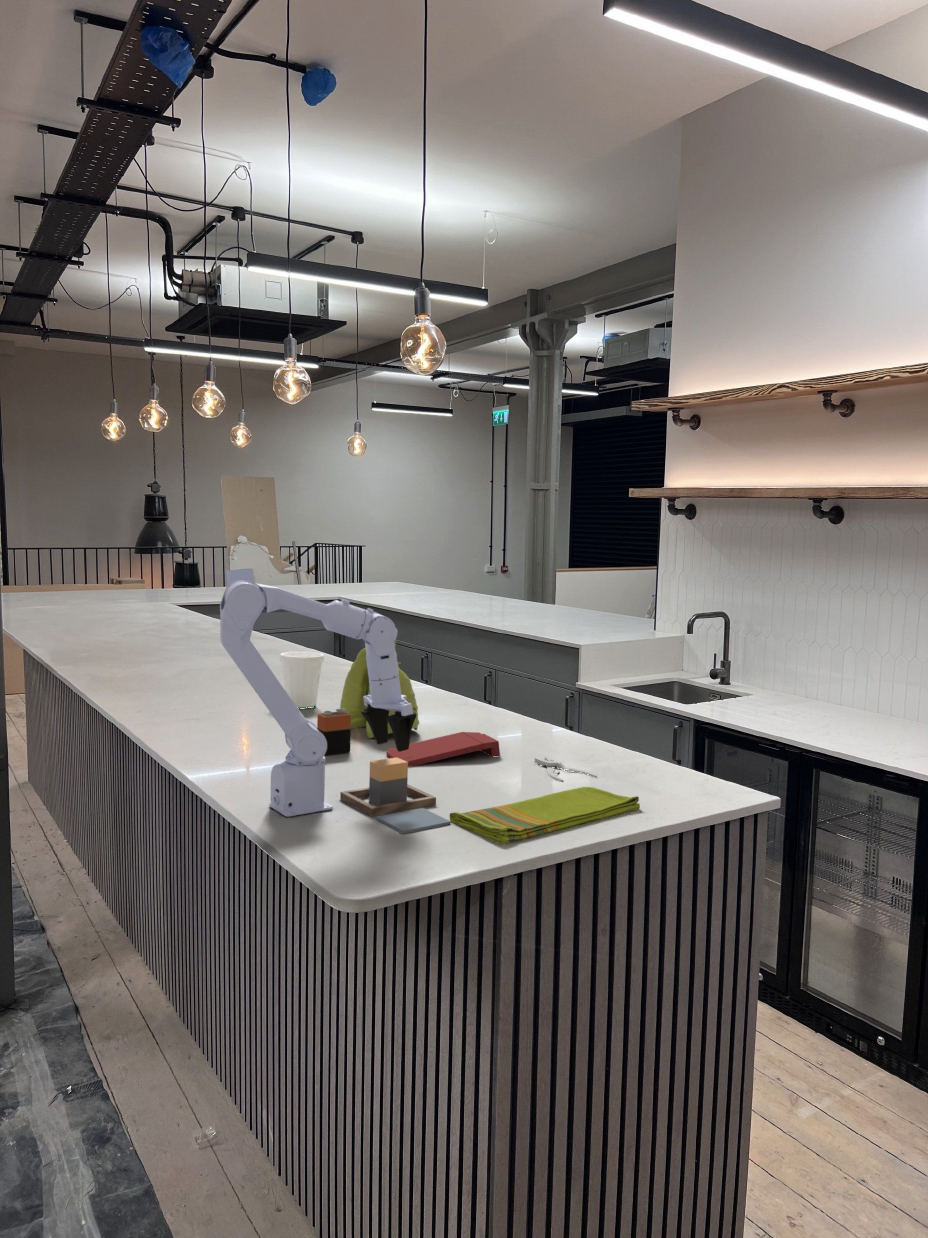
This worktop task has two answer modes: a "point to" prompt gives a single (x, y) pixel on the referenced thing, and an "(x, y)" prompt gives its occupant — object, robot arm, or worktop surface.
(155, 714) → the worktop surface
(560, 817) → the dish towel
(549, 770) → the pliers
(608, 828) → the worktop surface
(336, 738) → the battery
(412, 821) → the mat
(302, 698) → the cup
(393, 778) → the orange grey tall block
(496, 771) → the worktop surface
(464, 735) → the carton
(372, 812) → the frame
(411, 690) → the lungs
